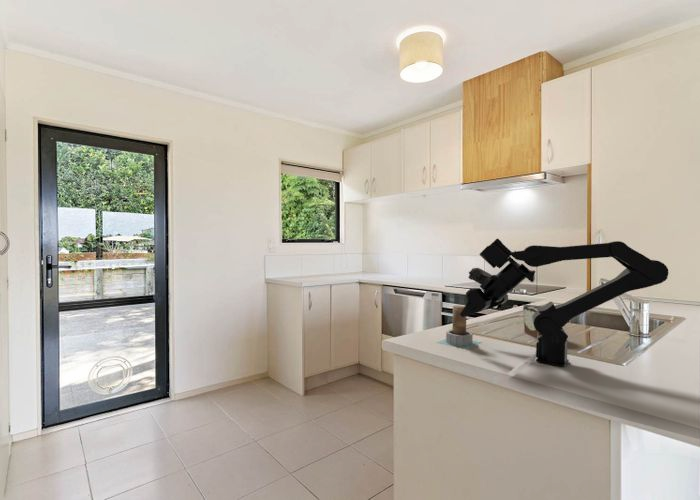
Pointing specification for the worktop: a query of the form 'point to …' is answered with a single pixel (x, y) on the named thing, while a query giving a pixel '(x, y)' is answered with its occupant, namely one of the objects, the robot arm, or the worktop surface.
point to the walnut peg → (458, 321)
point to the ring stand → (459, 340)
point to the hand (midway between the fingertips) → (468, 313)
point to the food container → (530, 321)
